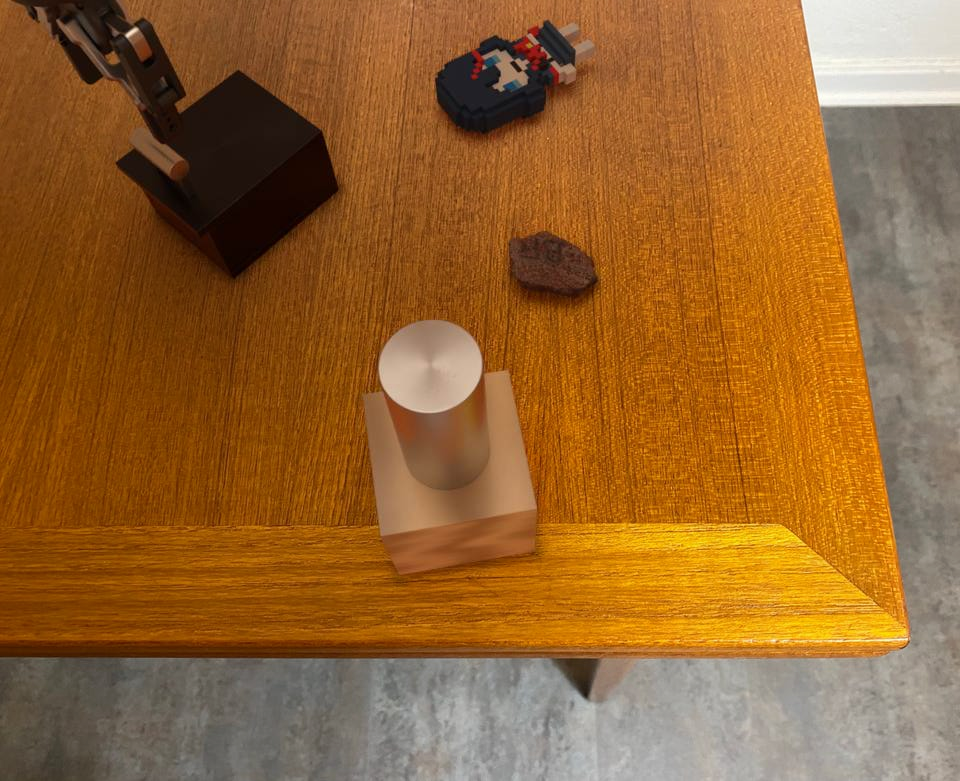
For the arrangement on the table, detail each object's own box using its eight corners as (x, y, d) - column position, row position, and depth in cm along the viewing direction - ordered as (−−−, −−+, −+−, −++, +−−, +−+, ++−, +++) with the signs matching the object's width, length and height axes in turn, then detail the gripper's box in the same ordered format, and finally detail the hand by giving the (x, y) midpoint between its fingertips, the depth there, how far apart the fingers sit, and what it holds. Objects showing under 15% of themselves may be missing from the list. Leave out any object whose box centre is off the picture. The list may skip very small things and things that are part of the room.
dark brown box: (233, 279, 75) (208, 232, 69) (156, 214, 79) (126, 163, 73) (339, 189, 79) (324, 137, 73) (261, 131, 83) (241, 76, 76)
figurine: (612, 52, 79) (469, 122, 77) (608, 87, 83) (472, 155, 80) (559, -5, 83) (420, 59, 80) (557, 31, 87) (424, 94, 84)
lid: (200, 238, 69) (178, 198, 65) (118, 169, 72) (91, 126, 68) (324, 137, 73) (311, 92, 69) (240, 75, 76) (223, 29, 72)
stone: (504, 246, 76) (504, 224, 73) (588, 237, 76) (591, 215, 73) (513, 312, 73) (513, 292, 70) (600, 303, 73) (604, 283, 70)
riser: (399, 575, 64) (380, 536, 55) (382, 449, 68) (362, 394, 59) (534, 551, 64) (537, 508, 55) (509, 427, 69) (508, 369, 60)
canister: (410, 497, 56) (384, 421, 45) (398, 417, 58) (371, 328, 47) (496, 482, 56) (491, 403, 45) (481, 403, 58) (473, 310, 48)
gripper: (-111, -126, 50) (33, 87, 64) (35, -12, 45) (155, 189, 60) (0, -191, 52) (115, 30, 66) (150, -89, 47) (238, 124, 62)
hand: (134, 105), depth 63 cm, fingers open, 8 cm apart
